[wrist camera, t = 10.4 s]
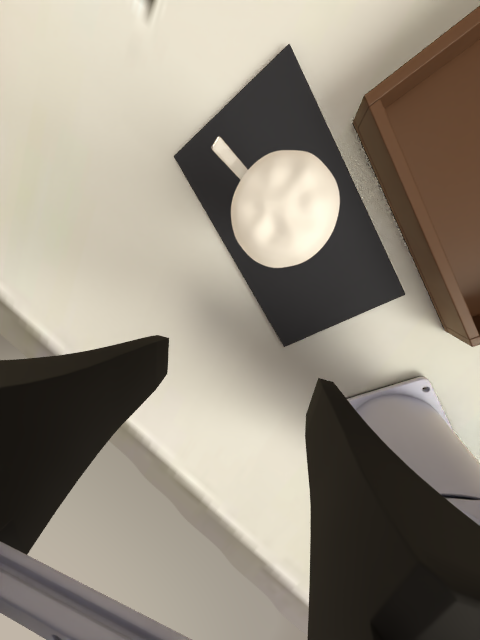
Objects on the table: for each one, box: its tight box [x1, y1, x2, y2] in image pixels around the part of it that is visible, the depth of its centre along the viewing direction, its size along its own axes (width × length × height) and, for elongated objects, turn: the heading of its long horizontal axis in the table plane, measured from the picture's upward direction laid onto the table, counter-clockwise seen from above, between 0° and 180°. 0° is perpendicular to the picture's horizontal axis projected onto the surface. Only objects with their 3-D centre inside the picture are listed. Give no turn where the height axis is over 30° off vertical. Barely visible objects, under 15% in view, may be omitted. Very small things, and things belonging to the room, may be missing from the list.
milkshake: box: [211, 136, 340, 268], centre depth 12 cm, size 4×5×10 cm
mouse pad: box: [174, 44, 405, 347], centre depth 17 cm, size 18×10×1 cm, turn 32°
